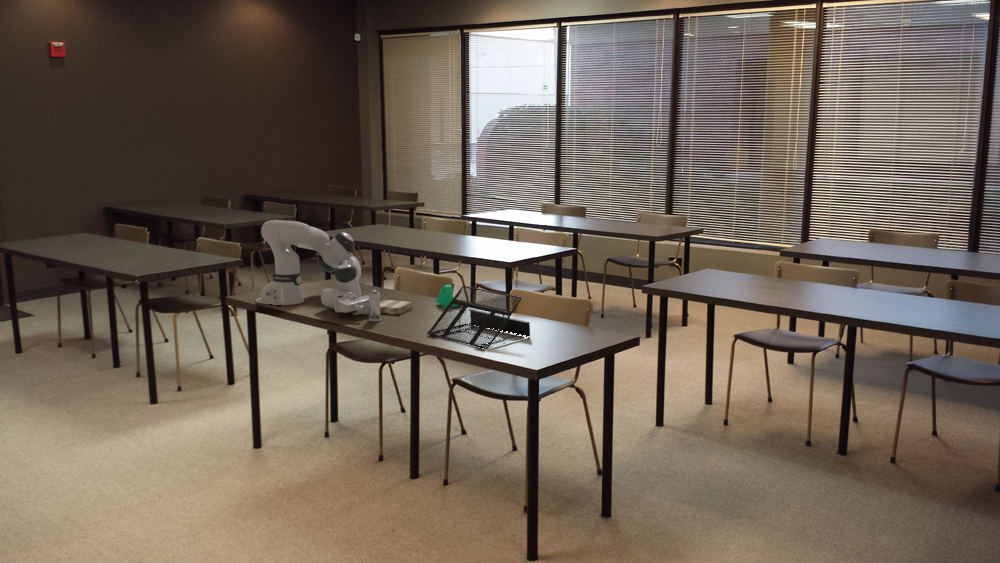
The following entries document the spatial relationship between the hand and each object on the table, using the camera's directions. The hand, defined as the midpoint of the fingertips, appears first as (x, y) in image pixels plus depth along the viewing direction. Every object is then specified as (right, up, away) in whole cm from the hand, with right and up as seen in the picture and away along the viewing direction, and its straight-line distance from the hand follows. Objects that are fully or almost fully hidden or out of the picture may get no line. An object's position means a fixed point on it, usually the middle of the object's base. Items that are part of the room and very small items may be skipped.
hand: (371, 306), depth 360 cm
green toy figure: (+33, -1, +29) cm, 44 cm away
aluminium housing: (+2, -6, -2) cm, 6 cm away
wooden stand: (+7, -2, +17) cm, 19 cm away
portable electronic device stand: (+48, -12, -26) cm, 56 cm away
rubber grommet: (-1, 0, +27) cm, 27 cm away
